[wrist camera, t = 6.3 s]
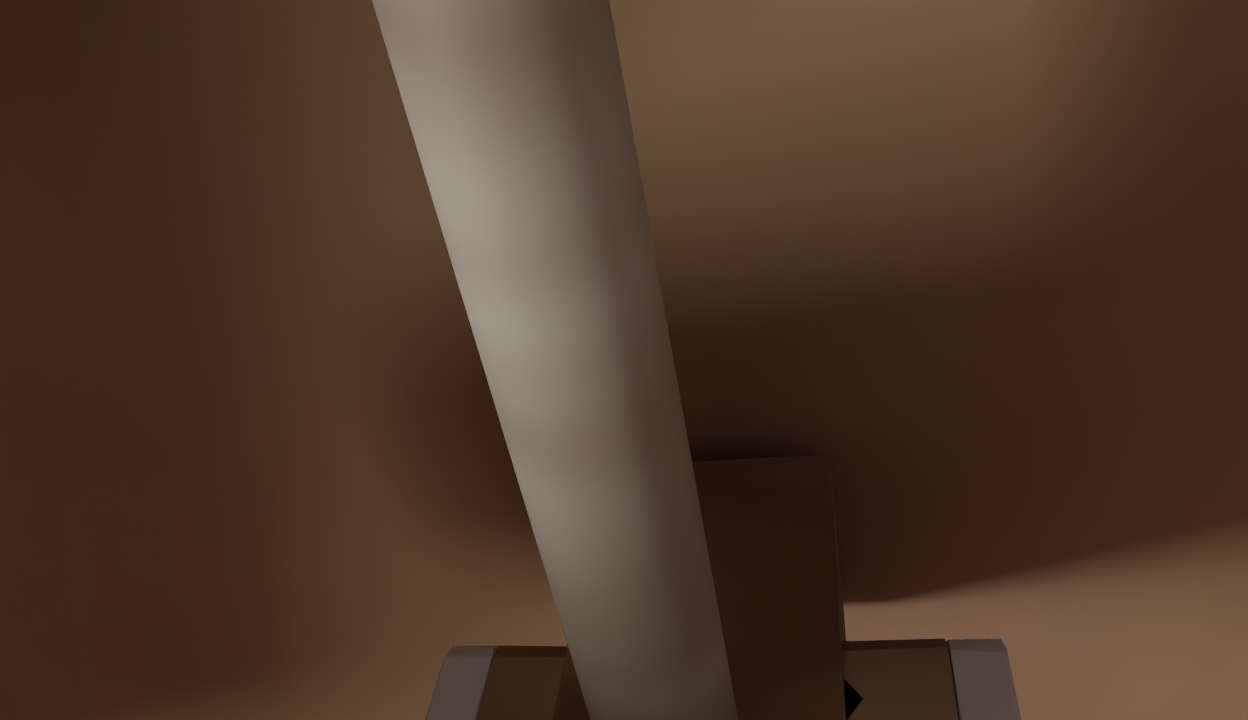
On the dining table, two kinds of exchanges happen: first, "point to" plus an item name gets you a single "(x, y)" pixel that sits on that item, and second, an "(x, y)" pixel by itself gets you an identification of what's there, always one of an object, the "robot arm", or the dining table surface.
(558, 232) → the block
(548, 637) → the dining table surface
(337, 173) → the dining table surface
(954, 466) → the dining table surface
